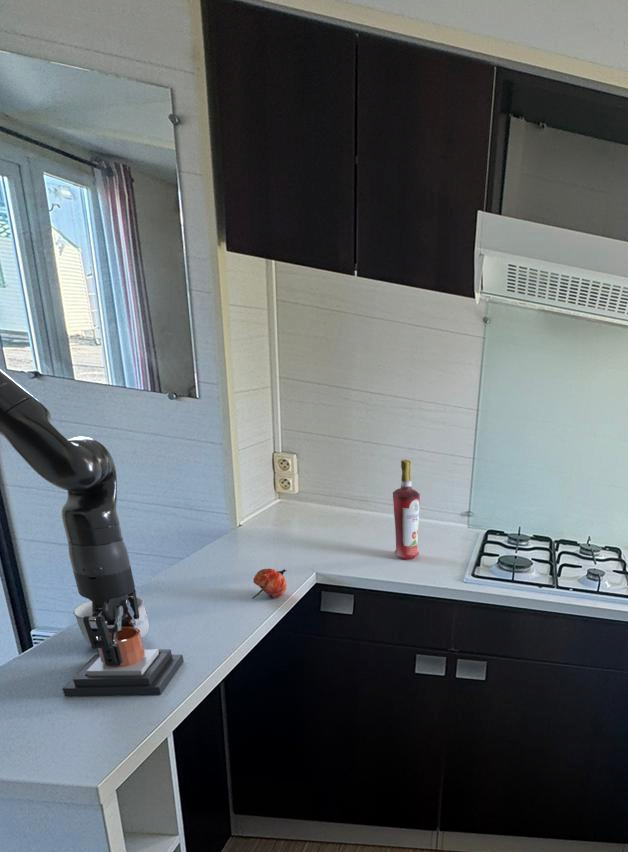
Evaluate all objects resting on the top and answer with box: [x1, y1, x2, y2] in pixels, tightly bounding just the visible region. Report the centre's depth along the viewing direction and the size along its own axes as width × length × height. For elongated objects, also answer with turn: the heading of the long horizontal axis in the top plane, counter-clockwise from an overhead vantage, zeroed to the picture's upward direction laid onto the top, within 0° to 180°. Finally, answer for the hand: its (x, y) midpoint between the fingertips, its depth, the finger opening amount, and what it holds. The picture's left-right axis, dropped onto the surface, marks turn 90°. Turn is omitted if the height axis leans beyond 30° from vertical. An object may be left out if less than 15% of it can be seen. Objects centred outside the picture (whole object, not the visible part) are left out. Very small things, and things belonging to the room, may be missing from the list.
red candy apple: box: [251, 568, 288, 600], centre depth 147 cm, size 7×7×10 cm
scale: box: [62, 648, 184, 697], centre depth 111 cm, size 14×12×3 cm
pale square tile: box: [86, 648, 159, 676], centre depth 110 cm, size 8×8×2 cm
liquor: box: [392, 459, 421, 561], centre depth 178 cm, size 7×7×28 cm
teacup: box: [73, 595, 150, 645], centre depth 121 cm, size 14×11×8 cm
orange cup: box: [97, 627, 145, 667], centre depth 109 cm, size 6×6×5 cm
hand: (122, 655), depth 109 cm, fingers closed on orange cup, 6 cm apart
